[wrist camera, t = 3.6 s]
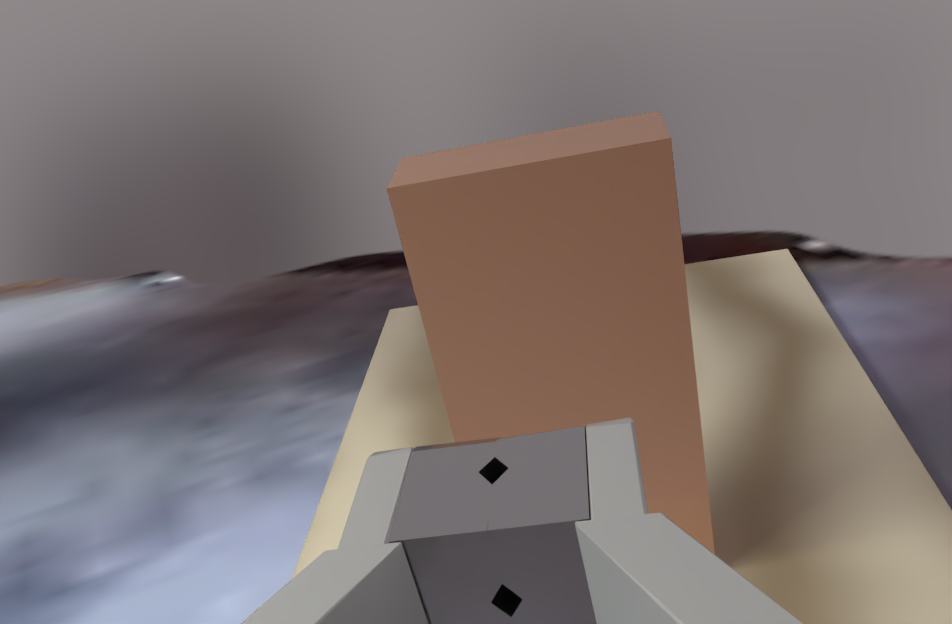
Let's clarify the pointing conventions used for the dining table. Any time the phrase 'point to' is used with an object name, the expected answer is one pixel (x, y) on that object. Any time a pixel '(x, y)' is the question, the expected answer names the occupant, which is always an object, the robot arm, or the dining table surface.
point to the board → (737, 450)
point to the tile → (561, 293)
